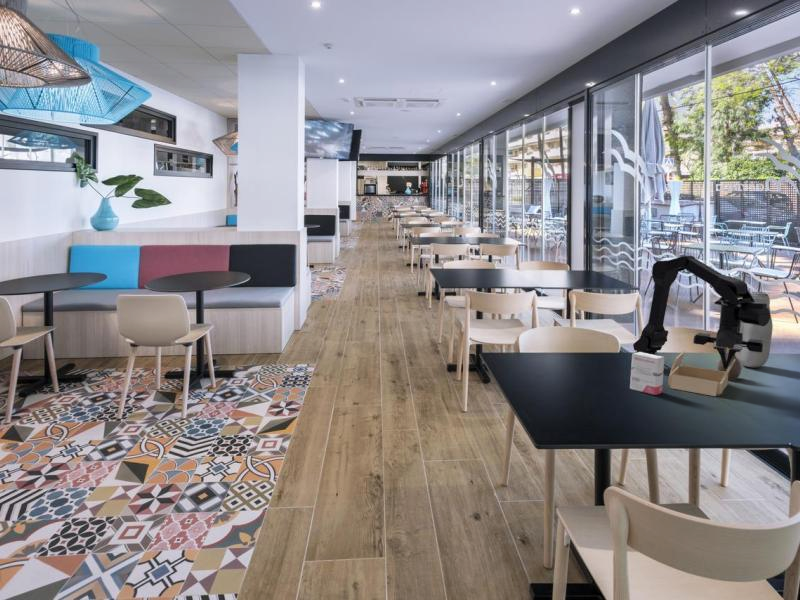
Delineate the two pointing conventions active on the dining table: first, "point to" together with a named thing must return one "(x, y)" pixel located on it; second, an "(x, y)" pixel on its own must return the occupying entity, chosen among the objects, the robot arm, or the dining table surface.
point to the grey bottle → (756, 336)
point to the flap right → (728, 369)
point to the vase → (734, 370)
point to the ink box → (647, 373)
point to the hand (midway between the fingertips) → (725, 368)
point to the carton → (698, 380)
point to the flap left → (677, 361)
